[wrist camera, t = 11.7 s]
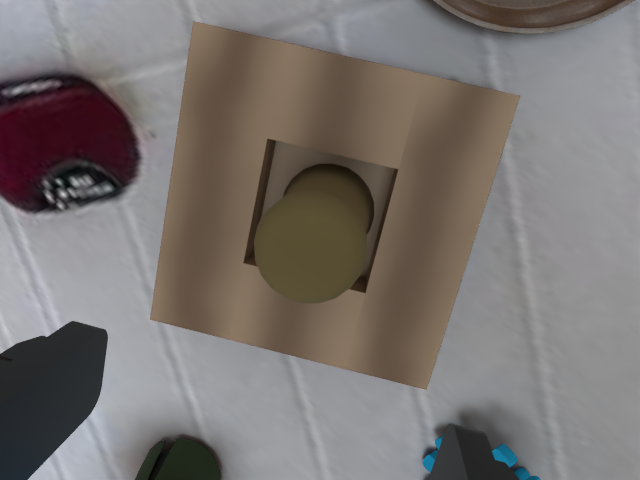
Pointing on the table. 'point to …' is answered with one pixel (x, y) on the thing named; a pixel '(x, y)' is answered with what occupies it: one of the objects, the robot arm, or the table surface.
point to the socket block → (323, 148)
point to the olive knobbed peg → (316, 234)
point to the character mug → (179, 463)
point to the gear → (499, 454)
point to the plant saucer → (531, 13)
